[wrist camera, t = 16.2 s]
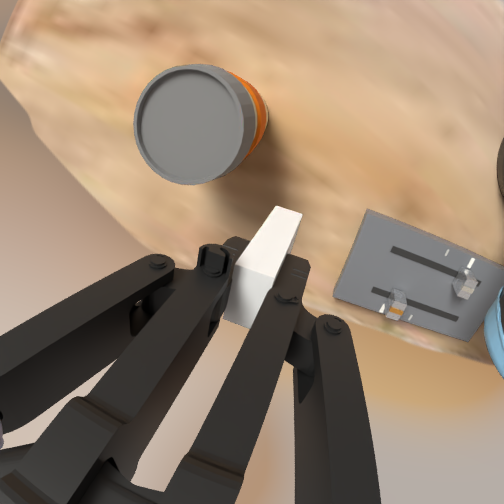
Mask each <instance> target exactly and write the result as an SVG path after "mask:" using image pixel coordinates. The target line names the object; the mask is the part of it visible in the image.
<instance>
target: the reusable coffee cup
mask: <svg viewBox="0 0 504 504" xmlns="http://www.w3.org/2000/svg"><path fill="white" fill-rule="evenodd" d="M267 123H268V109H267V105H266V103H265V101H264V99H263V98H262V96H261V95H260V94H259V93H258V92H257V90H256V89H255V88H254V87H253V86H252V85H251V84H250V83H248V82H247V81H245V80H243V79H242V78H240V77H238V76H237V75H235V74H233V73H231V72H228V71H226V70H224V69H222V68H219V67H216V66H213V65H206V64H191V65H182V66H175V67H173V68H170V69H167V70H165V71H163V72H162V73H160V74H159V75H157V76H156V77H155V78H154V79H153V80H151V81H150V82H149V83H148V85H147V86H146V87H145V89H144V90H143V92H142V93H141V95H140V98H139V100H138V102H137V105H136V109H135V113H134V123H133V124H134V136H135V140H136V144H137V147H138V149H139V151H140V153H141V155H142V157H143V159H144V160H145V162H146V163H147V164H148V165H149V167H150V168H151V169H152V170H153V171H154V172H156V173H157V174H158V175H160V176H161V177H162V178H164V179H166V180H168V181H170V182H173V183H177V184H181V185H197V184H203V183H206V182H209V181H211V180H214V179H217V178H219V177H222V176H225V175H226V174H228V173H229V172H231V171H232V170H234V169H235V168H236V167H237V166H238V165H239V164H240V163H241V162H242V161H243V160H244V159H245V158H246V157H247V156H248V155H249V154H250V153H251V152H252V151H253V149H254V148H255V147H256V146H257V144H258V143H259V141H260V140H261V138H262V136H263V134H264V131H265V129H266V126H267Z"/></svg>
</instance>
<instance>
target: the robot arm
mask: <svg viewBox="0 0 504 504" xmlns="http://www.w3.org/2000/svg"><path fill="white" fill-rule="evenodd" d="M497 175H498V182H499V186H500V189H501V192H502V195H503V197H504V138H503V141H502V143H501V146H500V149H499V154H498V161H497ZM302 215H303V214H300V213H297V212H294V211H291V210H288V209H285V208H282V207H279V206H275V208H274V209H273V211H272V212H271V213H270V215H269V216H268V218H267V219H266V221H265V222H264V223H263V225H262V226H261V228H260V229H259V230H258V232H257V233H256V235H255V236H254V238H253V239H252V240H251V241H248V240H245V239H242V238H240V237H237V236H235V237H232V238H230V239H228V240H227V241H226V242H225V243H224V244H223V246H222V245H218V244H206V245H203V246H201V247H200V248H199V254H198V261H197V266H196V267H195V268H194V270H185V269H179V268H175V263H174V260H172V259H171V258H170V257H168V256H166V255H162V254H151V255H148V256H145V257H143V258H141V259H139V260H137V261H135V262H134V263H132V264H130V265H128V266H126V267H124V268H122V269H120V270H118V271H116V272H114V273H113V274H111V275H109V276H107V277H105V278H103V279H101V280H99V281H98V282H96V283H94V284H92V285H90V286H88V287H86V288H84V289H83V290H81V291H79V292H77V293H75V294H74V295H72V296H70V297H68V298H66V299H64V300H63V301H61V302H59V303H57V304H55V305H54V306H52V307H50V308H48V309H46V310H45V311H43V312H41V313H39V314H38V315H36V316H34V317H32V318H31V319H29V320H27V321H26V322H24V323H22V324H20V325H19V326H17V327H15V328H14V329H12V330H10V331H8V332H7V333H5V334H3V335H2V336H0V449H1V448H2V446H3V444H4V441H3V438H2V436H3V434H6V433H9V432H11V431H14V430H16V429H18V428H20V427H22V426H24V425H25V424H27V423H29V422H30V421H32V420H33V419H35V418H36V417H37V416H39V415H40V414H42V413H43V412H44V411H46V410H47V409H49V408H50V407H51V406H53V405H54V404H55V403H57V402H58V401H60V400H61V399H62V398H64V397H65V396H67V395H68V394H69V393H71V392H72V391H73V390H75V389H76V388H78V387H79V386H80V385H82V384H83V383H84V382H86V381H87V380H89V379H90V378H91V377H93V376H94V375H95V374H97V373H98V372H100V371H101V370H102V369H104V368H105V367H106V366H108V365H109V364H110V363H112V362H113V361H115V360H116V359H117V358H118V359H117V360H116V361H115V362H114V363H113V365H112V366H111V367H110V368H109V370H108V371H107V372H106V373H105V374H104V376H103V377H102V378H101V379H100V380H99V382H98V383H97V384H96V385H95V387H94V388H93V389H92V390H91V392H90V393H89V394H88V395H87V396H85V397H79V396H77V397H74V398H72V399H71V400H70V401H69V402H68V403H67V404H66V405H65V406H64V407H63V409H62V410H61V411H60V412H59V413H58V415H57V416H56V417H55V418H54V420H53V421H52V422H51V423H50V425H49V426H48V427H47V428H46V430H45V431H44V432H43V433H42V435H41V436H40V437H39V438H38V440H37V441H36V442H35V443H31V444H26V445H22V446H17V447H12V448H7V449H2V450H0V504H235V501H236V499H237V496H238V494H239V491H240V489H241V486H242V483H243V480H244V473H245V470H246V468H247V465H248V462H249V460H250V457H251V454H252V452H253V449H254V446H255V444H256V441H257V438H258V436H259V433H260V430H261V427H262V424H263V422H264V419H265V416H266V413H267V410H268V407H269V405H270V402H271V399H272V396H273V393H274V390H275V387H276V384H277V381H278V378H279V375H280V372H281V369H282V365H283V363H284V360H285V361H286V362H288V363H289V364H291V365H293V366H294V368H293V385H294V426H295V427H294V430H295V504H381V498H380V489H379V482H378V475H377V467H376V460H375V454H374V448H373V441H372V435H371V429H370V423H369V418H368V412H367V407H366V402H365V397H364V391H363V386H362V381H361V377H360V372H359V367H358V363H357V358H356V354H355V349H354V345H353V340H352V336H351V332H350V329H349V326H348V325H347V324H346V323H345V321H344V320H342V319H340V318H339V317H337V316H334V315H327V314H324V315H321V316H319V317H318V318H316V317H315V316H313V315H312V314H310V313H309V312H308V311H307V310H306V309H305V308H304V306H303V304H302V296H303V293H304V289H305V286H306V282H307V279H308V275H309V271H310V268H311V267H310V264H309V262H308V260H306V259H303V258H300V257H297V256H294V255H291V254H290V253H291V250H292V247H293V244H294V241H295V237H296V234H297V231H298V228H299V225H300V222H301V218H302ZM140 300H141V301H140ZM138 301H139V302H138ZM137 302H138V303H137ZM223 312H224V316H223V319H225V320H228V321H230V322H233V323H235V324H238V325H241V326H243V327H246V328H249V329H250V330H249V332H248V334H247V336H246V338H245V340H244V343H243V345H242V347H241V349H240V351H239V353H238V355H237V357H236V359H235V361H234V363H233V365H232V367H231V369H230V371H229V373H228V375H227V378H226V379H225V381H224V384H223V386H222V388H221V390H220V392H219V394H218V396H217V398H216V400H215V402H214V404H213V406H212V408H211V410H210V412H209V414H208V415H207V418H206V419H205V421H204V423H203V425H202V427H201V429H200V431H199V433H198V435H197V437H196V439H195V441H194V443H193V445H192V447H191V449H190V450H189V452H188V453H187V454H186V455H185V456H184V457H183V459H182V460H181V462H180V464H179V465H178V467H177V469H176V471H175V473H174V475H173V477H172V478H171V480H170V482H169V484H168V486H167V488H166V490H165V491H164V492H160V491H156V490H152V489H148V488H144V487H140V486H137V485H134V484H132V483H131V482H130V481H131V479H132V478H133V476H134V474H135V471H136V469H137V465H138V461H139V459H140V457H141V455H142V453H143V452H144V450H145V449H146V447H147V445H148V444H149V442H150V440H151V439H152V437H153V435H154V434H155V432H156V430H157V429H158V427H159V425H160V423H161V422H162V420H163V419H164V417H165V415H166V414H167V412H168V410H169V409H170V407H171V405H172V403H173V402H174V400H175V399H176V397H177V395H178V394H179V392H180V390H181V389H182V387H183V385H184V383H185V382H186V380H187V379H188V377H189V375H190V374H191V372H192V370H193V369H194V367H195V365H196V363H197V362H198V360H199V358H200V357H201V355H202V353H203V352H204V350H205V348H206V347H207V345H208V343H209V341H210V340H211V338H212V337H213V335H214V333H215V332H216V330H217V328H218V326H219V322H220V317H221V316H222V314H223ZM484 337H485V342H486V346H487V349H488V352H489V354H490V357H491V359H492V361H493V363H494V365H495V367H496V369H497V370H498V372H499V373H500V375H501V376H502V377H503V379H504V286H503V287H502V288H501V289H500V291H499V293H498V297H497V298H496V300H495V301H494V303H493V304H492V306H491V307H490V308H489V310H488V312H487V314H486V316H485V320H484Z"/></svg>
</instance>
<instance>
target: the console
mask: <svg viewBox="0 0 504 504" xmlns="http://www.w3.org/2000/svg"><path fill="white" fill-rule="evenodd" d="M461 267H464V268H466V269H468V270H471V271H472V272H473V274H474V276H475V278H476V280H477V282H478V283H477V285H476V287H475V288H474V291H473V293H472V294H471V295H470V297H469V298H468V300H467V299H464V298H461V297H459V296H457V294H456V292H455V289H454V287H453V285H452V283H453V281H454V279H455V278H456V276H457V274H458V272H459V270H460V269H461ZM503 286H504V266H502V265H500V264H497V263H495V262H493V261H491V260H489V259H487V258H485V257H483V256H481V255H478V254H476V253H474V252H472V251H470V250H467V249H465V248H463V247H461V246H458V245H456V244H454V243H452V242H449V241H447V240H445V239H442V238H440V237H438V236H435V235H433V234H430V233H428V232H426V231H423V230H421V229H418V228H416V227H413V226H411V225H408V224H406V223H403V222H401V221H398V220H396V219H393V218H391V217H388V216H385V215H383V214H380V213H378V212H375V211H372V210H370V209H367V210H366V212H365V215H364V218H363V220H362V223H361V225H360V228H359V230H358V233H357V235H356V238H355V240H354V243H353V245H352V248H351V250H350V253H349V255H348V257H347V260H346V262H345V265H344V267H343V269H342V272H341V274H340V276H339V279H338V281H337V283H336V285H335V288H334V291H333V297H335V298H338V299H341V300H343V301H346V302H349V303H352V304H355V305H358V306H361V307H364V308H367V309H370V310H373V311H376V312H379V313H382V314H385V302H386V300H387V299H388V297H389V295H390V293H391V291H392V289H393V288H394V289H397V290H400V291H403V292H405V296H406V301H407V306H406V308H405V310H404V312H403V314H402V316H400V318H399V320H402V321H405V322H408V323H411V324H414V325H417V326H420V327H423V328H426V329H429V330H433V331H436V332H439V333H442V334H445V335H448V336H451V337H454V338H457V339H460V340H463V341H466V342H469V340H470V339H471V338H472V336H473V335H474V333H475V332H476V331H477V329H478V328H479V326H480V325H481V324H482V322H483V321H484V319H485V316H486V314H487V312H488V310H489V308H490V307H491V306H492V304H493V303H494V301H495V300H496V298H497V297H498V293H499V291H500V289H501V288H502V287H503Z"/></svg>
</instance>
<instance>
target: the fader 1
mask: <svg viewBox="0 0 504 504" xmlns="http://www.w3.org/2000/svg"><path fill="white" fill-rule="evenodd" d="M406 306H407V301H406V296H405V292H403V291H400V290H397V289H394V288H393V289H392V291H391V293H390V295H389V297H388V299H387V300H386V302H385V315H386V317H387V318H390V319H393V320H396V321H398V320H399V318H400V316H402V314H403V312H404V310H405V308H406Z"/></svg>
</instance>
